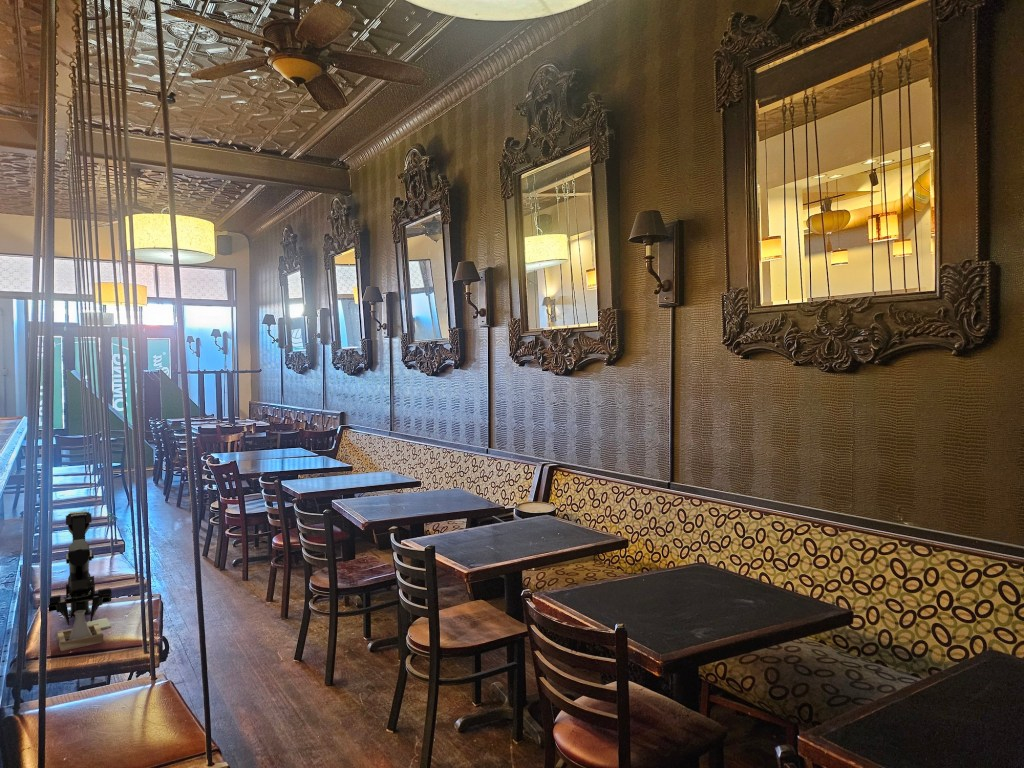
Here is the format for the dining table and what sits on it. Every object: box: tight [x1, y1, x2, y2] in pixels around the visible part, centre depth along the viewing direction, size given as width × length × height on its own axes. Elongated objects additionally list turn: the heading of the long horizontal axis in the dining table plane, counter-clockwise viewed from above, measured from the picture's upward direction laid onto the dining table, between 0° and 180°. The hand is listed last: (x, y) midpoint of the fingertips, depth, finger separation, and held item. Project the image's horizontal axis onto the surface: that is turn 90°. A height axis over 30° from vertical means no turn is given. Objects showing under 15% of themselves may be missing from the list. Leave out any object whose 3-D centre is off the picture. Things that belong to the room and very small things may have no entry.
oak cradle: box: [56, 624, 105, 652], centre depth 230 cm, size 12×12×2 cm
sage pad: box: [86, 617, 112, 630], centre depth 242 cm, size 9×9×1 cm
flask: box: [67, 610, 93, 641], centre depth 230 cm, size 7×7×10 cm
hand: (80, 622), depth 229 cm, fingers open, 6 cm apart
